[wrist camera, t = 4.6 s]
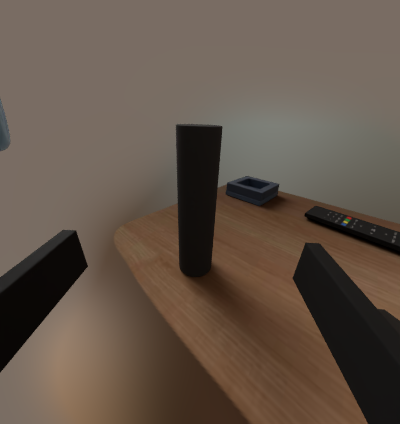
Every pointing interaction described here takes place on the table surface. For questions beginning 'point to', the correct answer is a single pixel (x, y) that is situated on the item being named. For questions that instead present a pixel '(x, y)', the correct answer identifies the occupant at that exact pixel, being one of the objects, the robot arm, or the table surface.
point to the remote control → (356, 227)
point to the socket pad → (252, 190)
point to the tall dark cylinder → (197, 194)
